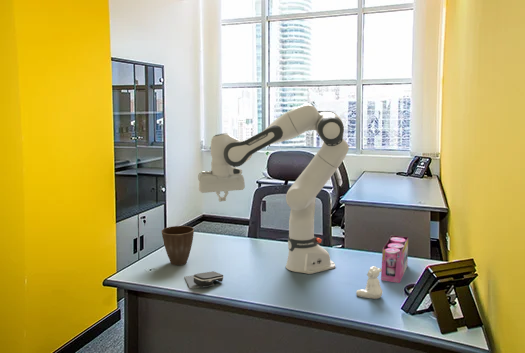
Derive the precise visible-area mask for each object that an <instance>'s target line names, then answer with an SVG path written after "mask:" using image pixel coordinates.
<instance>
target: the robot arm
mask: <svg viewBox="0 0 525 353" xmlns="http://www.w3.org/2000/svg"><path fill="white" fill-rule="evenodd" d="M344 130H345V127H344V122H343V120H342V119H341V117H340V116H339V115H338V114H337V113H336V112H333V111H330V110H329V111H328V110H318V109H317V107H315V106H314V105H312V104H310V103H305V104H301V105H300V106H297V107H294V108H293V109H290V110H289V111H286V112H285V113H283V114H282V115H280V116H279V117H277V118H276V119H275V120H273V122H271V123H270V124H269V125H268V126H267V127H266V128H265V129H264V130H262V131H260V132H258V133H257V134H255V135H253V136H251V137H249V138H247V139H245V140H241V139H238V138H236V137H234V136H233V135H231V134H230V133H228V132H223V133H219V134H215V135H213V136H212V138H211V141H210V142H211V143H210V156H211V164H210V166H211V170H208V171H207V170H206V171H205V170H203V171H201V172H199V174H198V176H197V178H198V190H199V192H200V193H201V194H206V193H207V194H209V193H215V194H216V196H217V197H218V201H219V202H227V198H228V194H229V192H232V191H234V192H235V191H243V190H244V189H246V188H245V187H246V185H245V178H244V175H243V174H242V173H243V170H242V168H239V167H240V166H242V165H244V164H245V163H246V162H248V161H249V160H250V159H251V158H252V156H253V155H254V154H255V153H257V152H259V151H261V150H262V149H264V148H266V147H268V146H271V145H274V144H278V143H281V142H285V141H289V140H291V139H294V138H296V137H299V136H300V135H302V134H304V133H306V132H309V131H316V133H317V134H318V136H319V138H320V139H321V140H322V145H321V147H320V148H319V150H318V151H317V152H316V154H315V155H314V156H313V157H312V159H311V160H310V162H309V163H308V165H307V166H306V167H305V168H304V169H303V170H302V172H301V174H299V175H298V177H297V178H296V179H295V181H294V182H293V183H292V184H291V186H290V187H289V188H288V189H287V192H286V196H285V202H286V204H287V206H288V207H289V208H290V213H289V218H288V220H289V221H288V238H287V247H288V255H287V259H286V260H287V261H286V264H285V268H286V269H287V270H289V271H290V272H291V271H292V272H294V273H304V274H308V275H312V274H315V273H319V272H323V271H327V270H331V269H332V270H333V269H335V268H336V264H335V262H334V261H333V260H331V256H330V253H329V252H328V251H327V250H326V249H325V248H324V247H322V246H321V245H320V244H321V243H322V239H321V238H320V237H316V236H315V213H316V199H317V195H319V194H320V192H321V191H322V189H323V188H324V187H325V186H326V185H327V183H328V182H329V180H330V179H331V178H332V176H333V175H334V174H335V173H336V171H337V169H338V168H339V167H340V166H341V164H342V163H343V161H344V160H345V158H346V157H347V154H348V152H349V148H350V147H349V144H348V142H347V141H346V140H345V139H344V132H345V131H344ZM221 192H224V195H223V196H221Z"/></svg>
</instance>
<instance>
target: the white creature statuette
mask: <svg viewBox="0 0 525 353" xmlns="http://www.w3.org/2000/svg"><path fill="white" fill-rule="evenodd" d="M381 270H382V267H381V268H380V267H377V266H375V265H373V266H371V267H369V270H367V271H368V272H367V274H366V276H367V277H368V279H367V280H366V285H365V288H364V289H361V288H360V289H357V290H356V291H355V292H356V293H355V295H356V296H357V297H359V298H360V297H361V298H365V299H372V300H377V299H380V298H381V297H382V296H383V289H382V287H381V283H380V280H379V278H378V277H379V275H380V273H381Z"/></svg>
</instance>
